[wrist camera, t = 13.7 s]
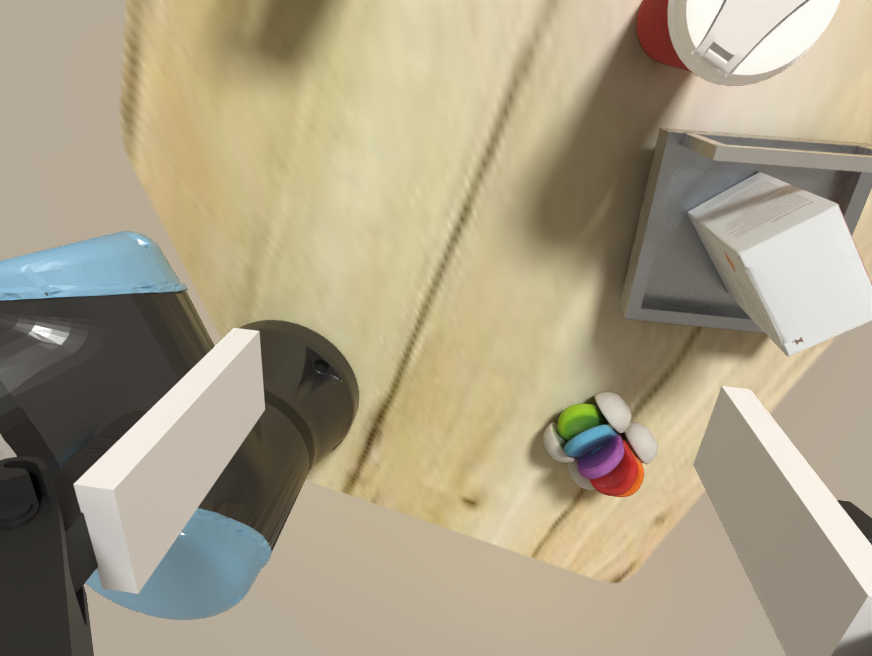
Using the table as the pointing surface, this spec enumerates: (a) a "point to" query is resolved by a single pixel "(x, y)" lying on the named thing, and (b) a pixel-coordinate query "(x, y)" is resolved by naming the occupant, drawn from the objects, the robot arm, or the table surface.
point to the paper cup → (732, 35)
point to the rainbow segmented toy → (602, 445)
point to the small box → (786, 260)
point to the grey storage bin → (701, 181)
